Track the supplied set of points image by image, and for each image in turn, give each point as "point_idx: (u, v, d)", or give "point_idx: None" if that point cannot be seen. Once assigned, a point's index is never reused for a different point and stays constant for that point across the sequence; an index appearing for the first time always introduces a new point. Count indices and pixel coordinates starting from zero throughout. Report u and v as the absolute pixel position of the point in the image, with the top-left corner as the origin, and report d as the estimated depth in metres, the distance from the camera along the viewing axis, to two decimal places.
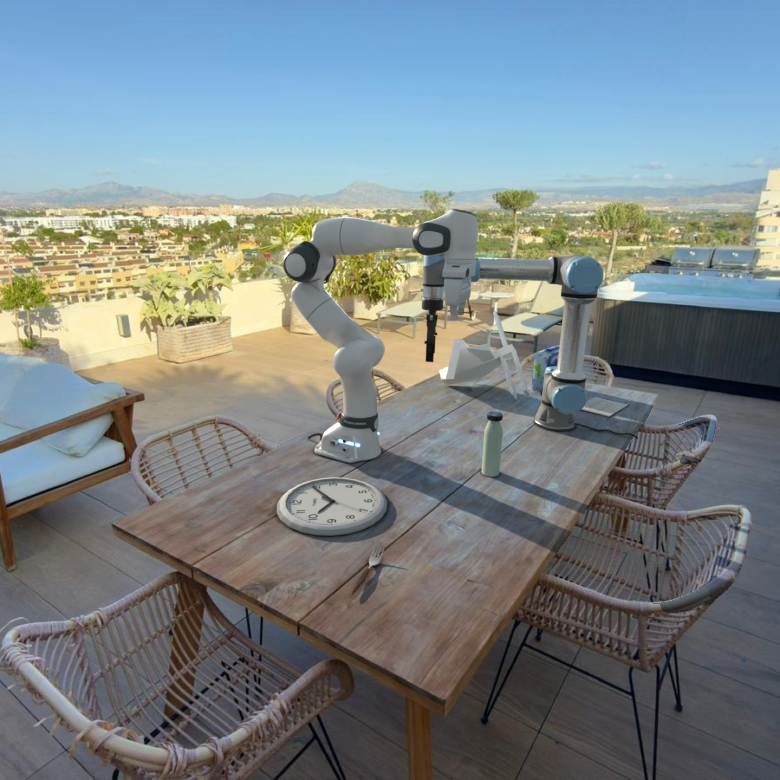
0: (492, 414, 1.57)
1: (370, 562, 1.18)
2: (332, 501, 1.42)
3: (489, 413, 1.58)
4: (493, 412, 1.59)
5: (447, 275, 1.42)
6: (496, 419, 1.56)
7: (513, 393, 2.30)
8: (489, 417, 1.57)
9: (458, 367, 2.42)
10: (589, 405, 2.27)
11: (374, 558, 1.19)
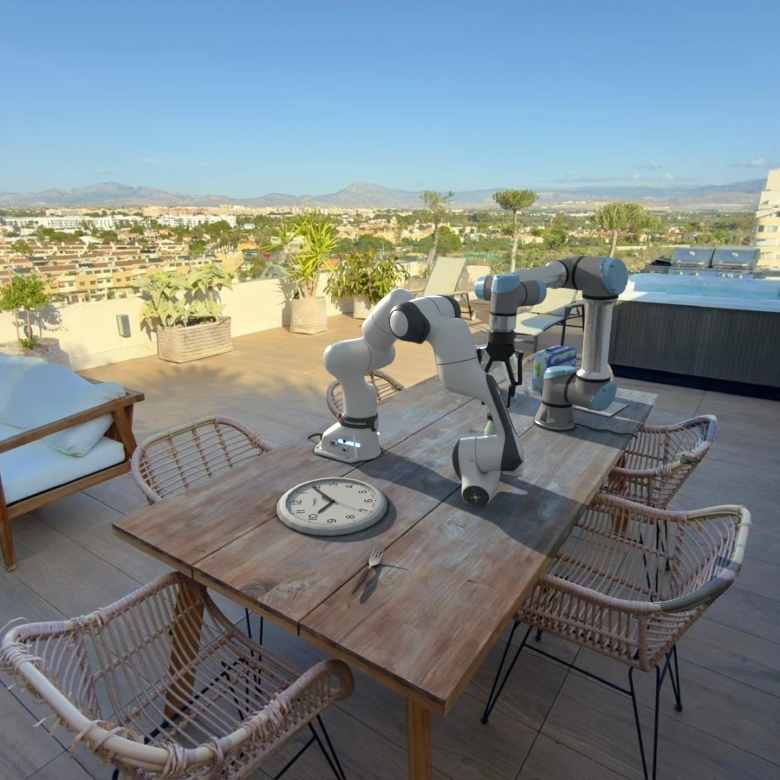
0: None
1: (370, 562, 1.18)
2: (332, 501, 1.42)
3: (489, 413, 1.58)
4: None
5: None
6: None
7: None
8: (489, 417, 1.57)
9: None
10: None
11: (374, 558, 1.19)
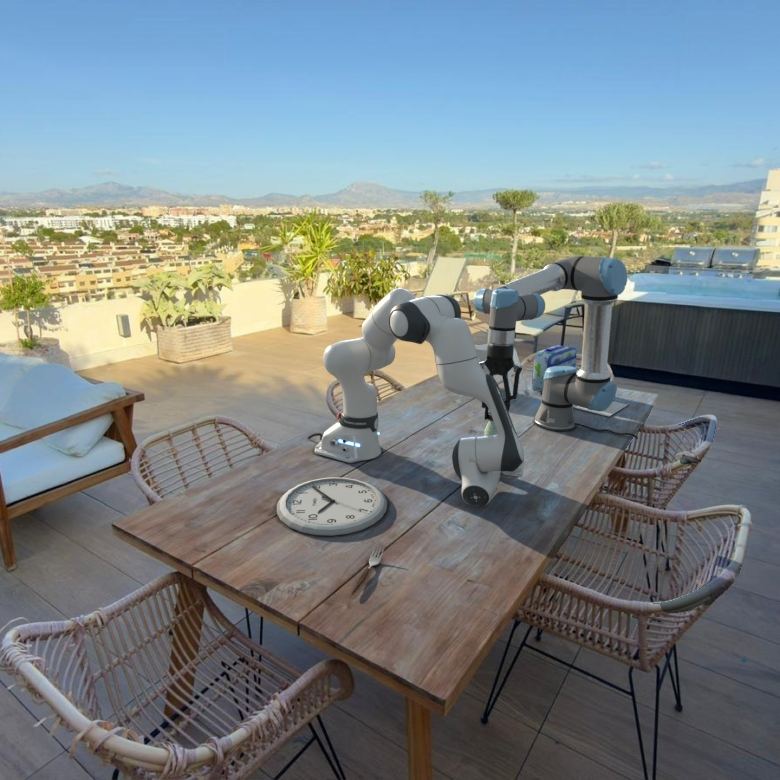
0: None
1: (370, 562, 1.18)
2: (332, 501, 1.42)
3: (489, 413, 1.58)
4: None
5: None
6: None
7: None
8: (489, 417, 1.57)
9: None
10: None
11: (374, 558, 1.19)
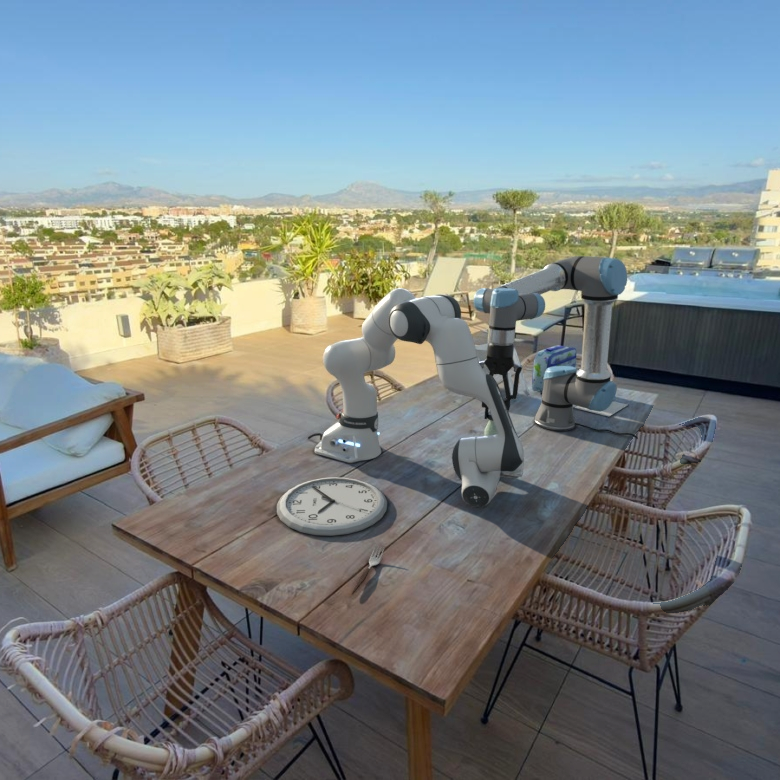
0: None
1: (370, 562, 1.18)
2: (332, 501, 1.42)
3: None
4: None
5: None
6: None
7: None
8: None
9: None
10: None
11: (374, 558, 1.19)
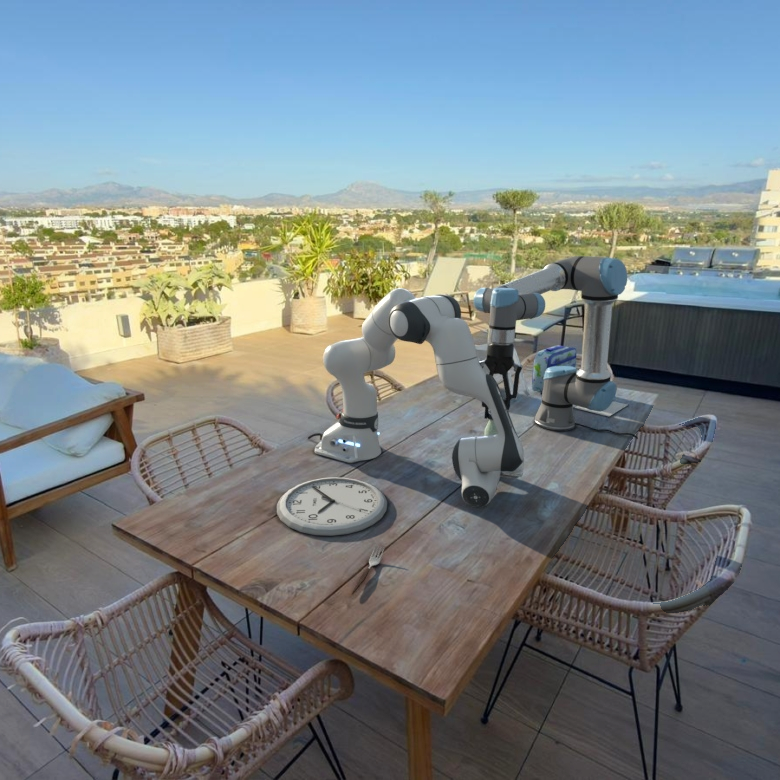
0: None
1: (370, 562, 1.18)
2: (332, 501, 1.42)
3: None
4: None
5: None
6: None
7: None
8: None
9: None
10: None
11: (374, 558, 1.19)
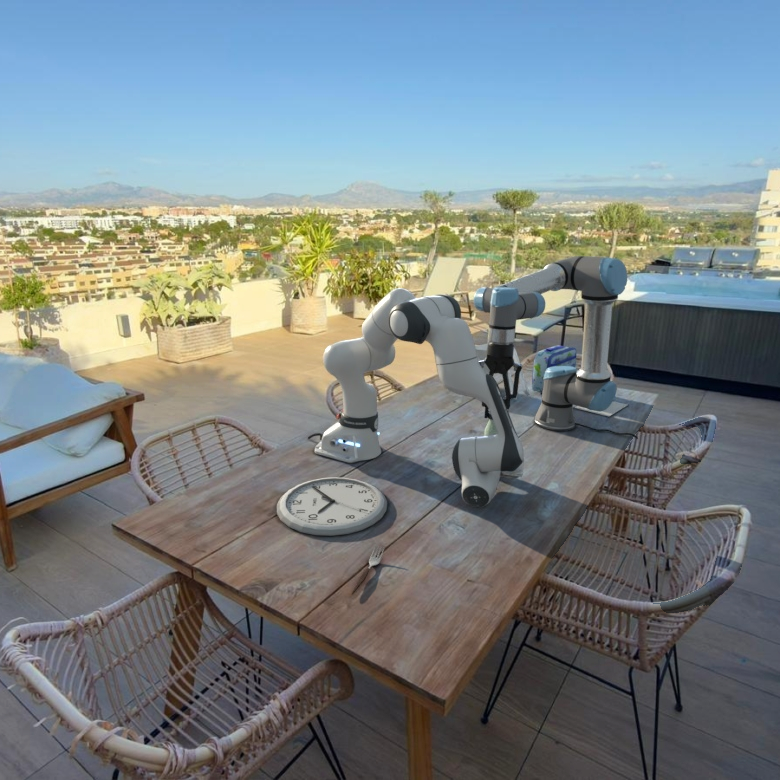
0: None
1: (370, 562, 1.18)
2: (332, 501, 1.42)
3: (489, 411, 1.58)
4: None
5: None
6: None
7: None
8: (488, 415, 1.57)
9: None
10: None
11: (374, 558, 1.19)
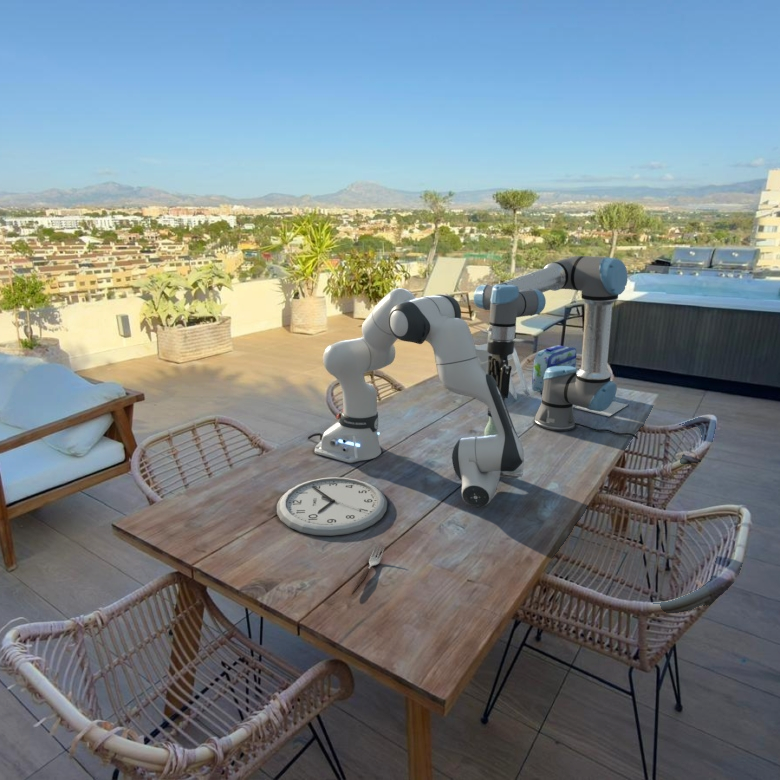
0: None
1: (370, 562, 1.18)
2: (332, 501, 1.42)
3: None
4: None
5: None
6: None
7: (513, 393, 2.30)
8: None
9: None
10: None
11: (374, 558, 1.19)
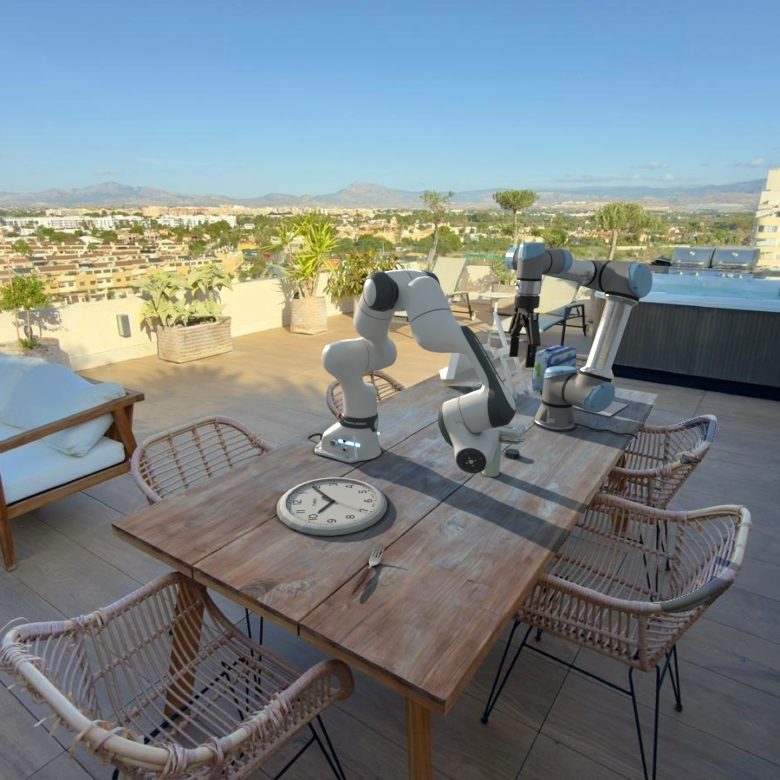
0: (515, 452, 1.75)
1: (370, 562, 1.18)
2: (332, 501, 1.42)
3: (514, 453, 1.74)
4: (509, 452, 1.75)
5: None
6: None
7: (513, 393, 2.30)
8: (518, 455, 1.74)
9: (458, 367, 2.42)
10: None
11: (374, 558, 1.19)
